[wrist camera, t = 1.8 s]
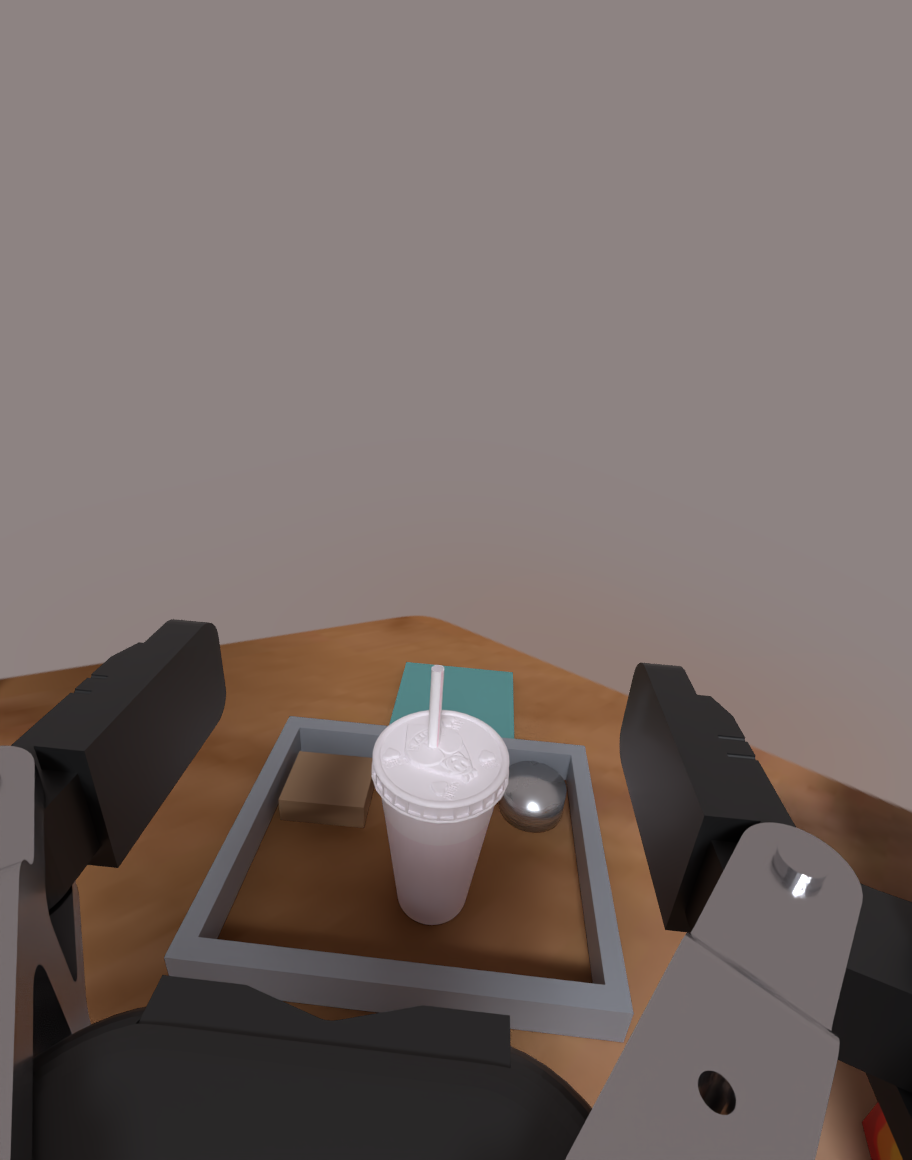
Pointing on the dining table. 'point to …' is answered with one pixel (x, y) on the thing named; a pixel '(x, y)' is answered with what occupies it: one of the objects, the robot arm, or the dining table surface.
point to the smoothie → (437, 802)
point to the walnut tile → (328, 790)
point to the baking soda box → (880, 1136)
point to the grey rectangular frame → (400, 982)
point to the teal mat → (460, 694)
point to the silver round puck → (533, 797)
